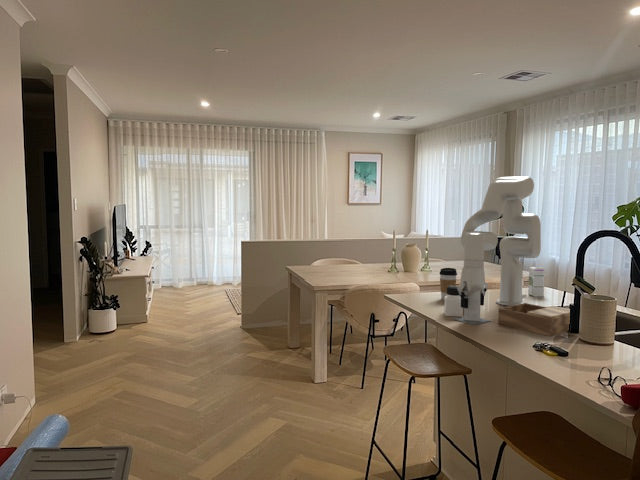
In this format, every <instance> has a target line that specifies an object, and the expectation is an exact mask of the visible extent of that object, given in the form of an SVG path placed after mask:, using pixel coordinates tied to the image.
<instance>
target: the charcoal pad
mask: <svg viewBox="0 0 640 480" xmlns="http://www.w3.org/2000/svg"><path fill="white" fill-rule="evenodd" d="M453 321H456V322H459V323H460V322H461V323H464V322H465V323H464V324H467V325H468V324H469V325H471V326H472V325H473V326H476V325H480V324H486V323H490V322H491V320H489V319H485V318H481V317H480V321H470V320H464V316H463V317H455V318H453Z"/></svg>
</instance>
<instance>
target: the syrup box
mask: <svg viewBox="0 0 640 480" xmlns="http://www.w3.org/2000/svg"><path fill="white" fill-rule="evenodd" d="M544 292H545V268H544V267H541V266H529V267H528V293H527V294H528V295H529V296H532V297H537V298H538V297H539V298H540V297H544V296H545V293H544Z"/></svg>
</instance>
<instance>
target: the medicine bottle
mask: <svg viewBox="0 0 640 480" xmlns="http://www.w3.org/2000/svg"><path fill="white" fill-rule="evenodd" d="M458 287H459V286H458V285H456V286H449V287H447V296H445V300H444V310H443V311H444V312H443V313H444V315H445V317H455V318H460V317H464V310H463V308H462V307H461V297H460V295H459V292H458V289H457V288H458Z"/></svg>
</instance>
